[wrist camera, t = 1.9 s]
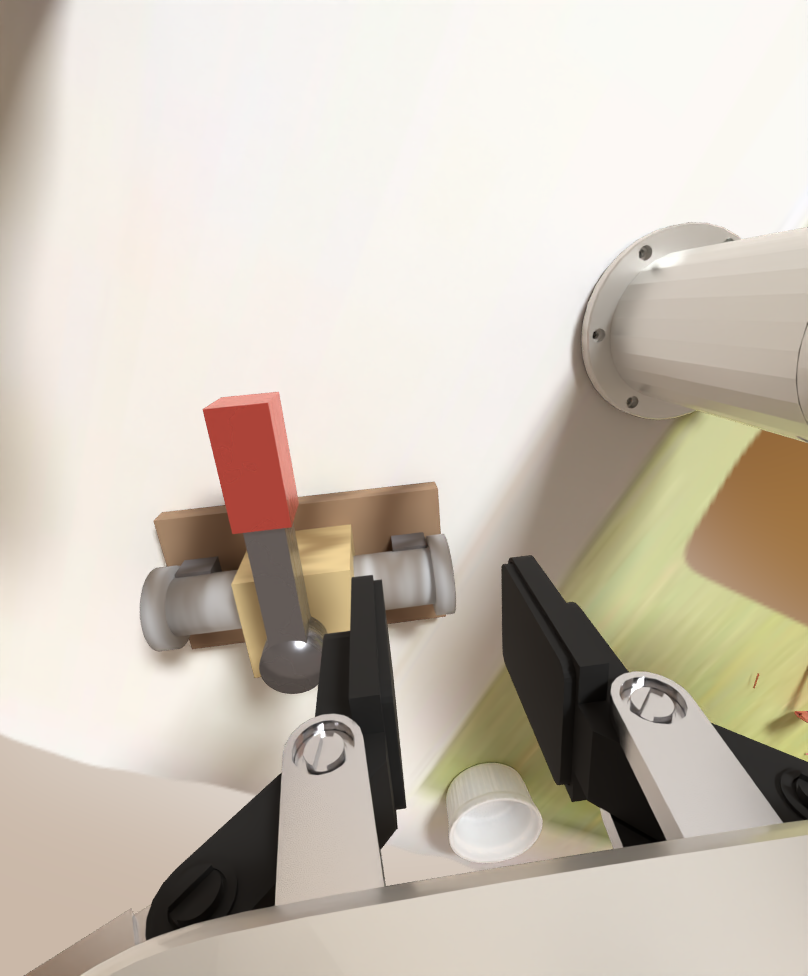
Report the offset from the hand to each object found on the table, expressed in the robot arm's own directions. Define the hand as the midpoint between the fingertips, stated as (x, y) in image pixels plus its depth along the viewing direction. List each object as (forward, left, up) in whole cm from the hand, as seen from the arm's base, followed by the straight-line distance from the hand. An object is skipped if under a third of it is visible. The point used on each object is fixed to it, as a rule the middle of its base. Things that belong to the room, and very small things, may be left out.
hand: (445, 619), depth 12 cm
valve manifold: (+7, +11, -23) cm, 26 cm away
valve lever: (+7, +4, -14) cm, 16 cm away
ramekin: (-6, +39, -24) cm, 46 cm away
